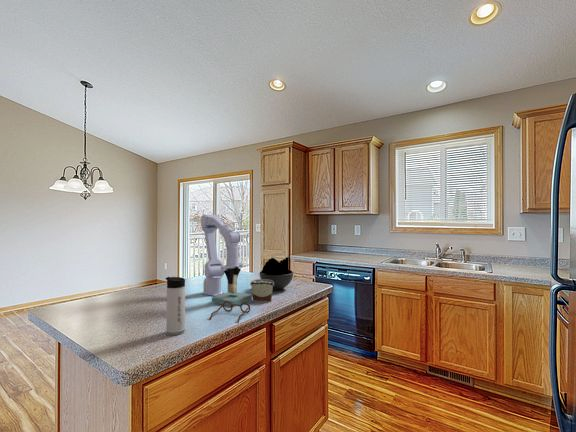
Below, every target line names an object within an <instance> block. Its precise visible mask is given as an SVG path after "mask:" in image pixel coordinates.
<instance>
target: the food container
mask: <svg viewBox="0 0 576 432" xmlns="http://www.w3.org/2000/svg"><path fill="white" fill-rule="evenodd" d="M250 281H251V282H250V283H249V285H250V286H251V287H250V288H251V295H252V302H266V303H267V302H268V303H271V302H272V300H273V299H272V297H273V290H274V289H273V285H274V282H273V281H272V280H268V279H261V278H259V279H252V280H250Z"/></svg>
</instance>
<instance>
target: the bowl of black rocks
mask: <svg viewBox="0 0 576 432" xmlns="http://www.w3.org/2000/svg"><path fill="white" fill-rule="evenodd" d="M289 259H290V258H289V257H288V256H287V257H285V258H283V259H281V260H280V261H278V260H277V259H276V258H275V257H270V258H269V259H268V260H267V261H265V263H264V265H263V267H262V269H261V271H259V279H268V280H272V281H273V282H274V285H273V290H276V291H277V290H278V291H279V290H282V289H284V288H286V287H287V286H288V285H290V284H291V282H292V280H293V277H294V271H292V270H290V268H289V263H290V262H289V261H290V260H289Z"/></svg>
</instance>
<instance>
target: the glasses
mask: <svg viewBox="0 0 576 432" xmlns="http://www.w3.org/2000/svg"><path fill="white" fill-rule="evenodd" d="M225 303H229V304H230V305H231V306H230V309H226V307H225V305H224V304H225ZM243 305H246V306H247V308H246V309H245V310H243V308H242V306H243ZM233 306H235V307H239V309H240V311H241V312H242V313H241V314H240V315H238V319H237V323H236V324H239V323H240V320H241V317H242V316H244V315H245V314H248V313H249V312H250V311H251V306H250V304H249V303H248V302H245V303H242V304H240V305H239V304H233V305H232V303H231V302H229V301H226V302H224V303H223V305H220V306H219V308H218V309H216V310H214V311H212V312H211V313H210V316H209V321H211V320H212V318H213V315H214V314H215V313H218V312H219V311H220V310H221V309H222V308H223V310H224V311H225V312H232V310H233V308H234V307H233Z"/></svg>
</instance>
